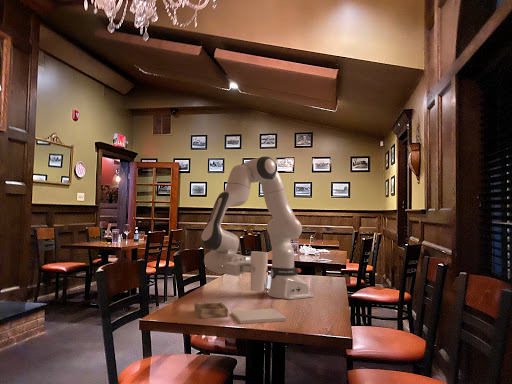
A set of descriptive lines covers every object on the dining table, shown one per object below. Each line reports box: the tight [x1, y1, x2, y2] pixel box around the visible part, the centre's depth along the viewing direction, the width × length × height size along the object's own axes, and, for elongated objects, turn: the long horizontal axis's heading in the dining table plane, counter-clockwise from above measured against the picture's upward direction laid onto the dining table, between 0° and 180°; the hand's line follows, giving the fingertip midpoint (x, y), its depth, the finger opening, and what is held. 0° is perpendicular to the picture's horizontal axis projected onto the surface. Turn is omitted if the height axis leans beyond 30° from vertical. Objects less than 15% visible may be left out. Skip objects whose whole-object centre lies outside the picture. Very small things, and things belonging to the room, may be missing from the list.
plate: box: [230, 308, 287, 325], centre depth 145 cm, size 18×14×1 cm
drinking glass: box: [250, 250, 269, 293], centre depth 146 cm, size 7×7×15 cm
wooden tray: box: [193, 301, 229, 320], centre depth 149 cm, size 11×11×3 cm
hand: (260, 268), depth 146 cm, fingers closed on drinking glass, 6 cm apart
